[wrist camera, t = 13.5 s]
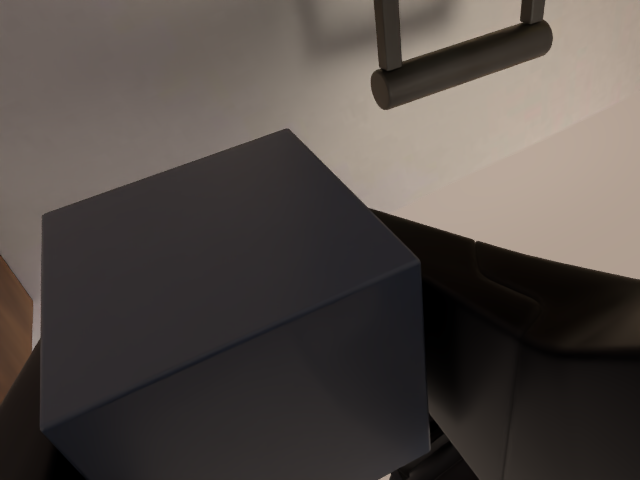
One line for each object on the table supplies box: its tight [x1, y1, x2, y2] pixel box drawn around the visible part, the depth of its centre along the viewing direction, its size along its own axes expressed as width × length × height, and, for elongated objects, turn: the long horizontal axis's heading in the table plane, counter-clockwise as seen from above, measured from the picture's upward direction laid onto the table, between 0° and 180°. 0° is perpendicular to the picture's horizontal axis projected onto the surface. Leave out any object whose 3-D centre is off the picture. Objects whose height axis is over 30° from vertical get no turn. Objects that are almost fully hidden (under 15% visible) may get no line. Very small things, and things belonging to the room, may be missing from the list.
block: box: [40, 129, 431, 480], centre depth 8 cm, size 4×4×4 cm
